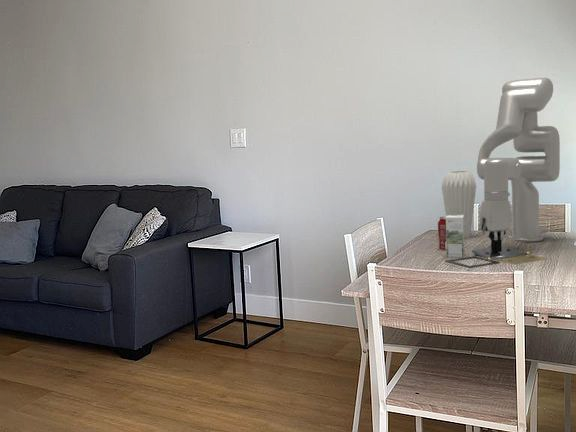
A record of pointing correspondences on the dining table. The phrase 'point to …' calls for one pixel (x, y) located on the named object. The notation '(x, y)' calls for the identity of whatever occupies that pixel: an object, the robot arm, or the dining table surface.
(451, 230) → the syrup box
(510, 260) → the fixed leaf
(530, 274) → the dining table surface
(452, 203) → the vase
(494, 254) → the gray hinge leaf
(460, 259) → the gray rectangular frame
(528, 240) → the robot arm
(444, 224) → the soda can
